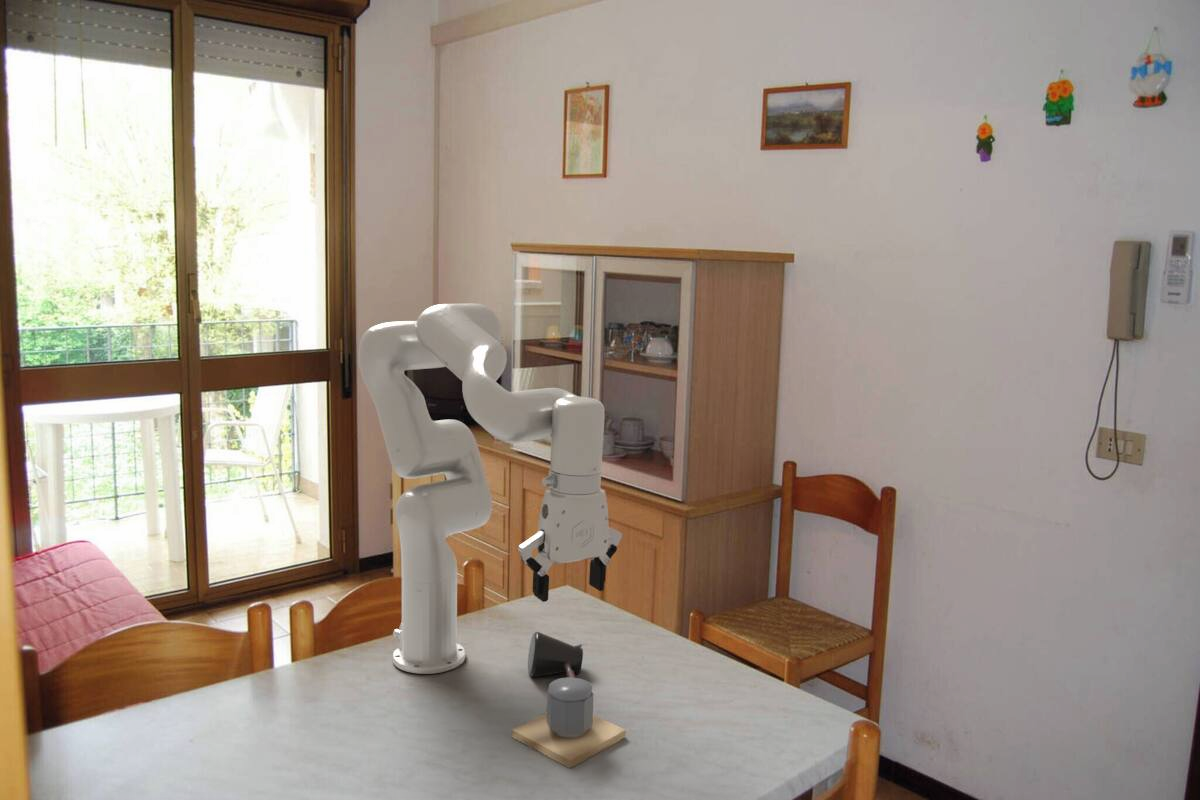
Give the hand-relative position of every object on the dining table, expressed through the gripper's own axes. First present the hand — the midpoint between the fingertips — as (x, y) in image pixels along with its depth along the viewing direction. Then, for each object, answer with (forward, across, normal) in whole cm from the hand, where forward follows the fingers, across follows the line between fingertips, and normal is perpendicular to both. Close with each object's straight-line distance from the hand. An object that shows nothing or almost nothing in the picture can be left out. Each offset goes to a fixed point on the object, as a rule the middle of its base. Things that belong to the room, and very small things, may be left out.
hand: (569, 593), depth 137 cm
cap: (+19, -1, -4) cm, 19 cm away
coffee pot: (+22, +6, +12) cm, 26 cm away
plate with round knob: (+21, -1, -4) cm, 22 cm away
